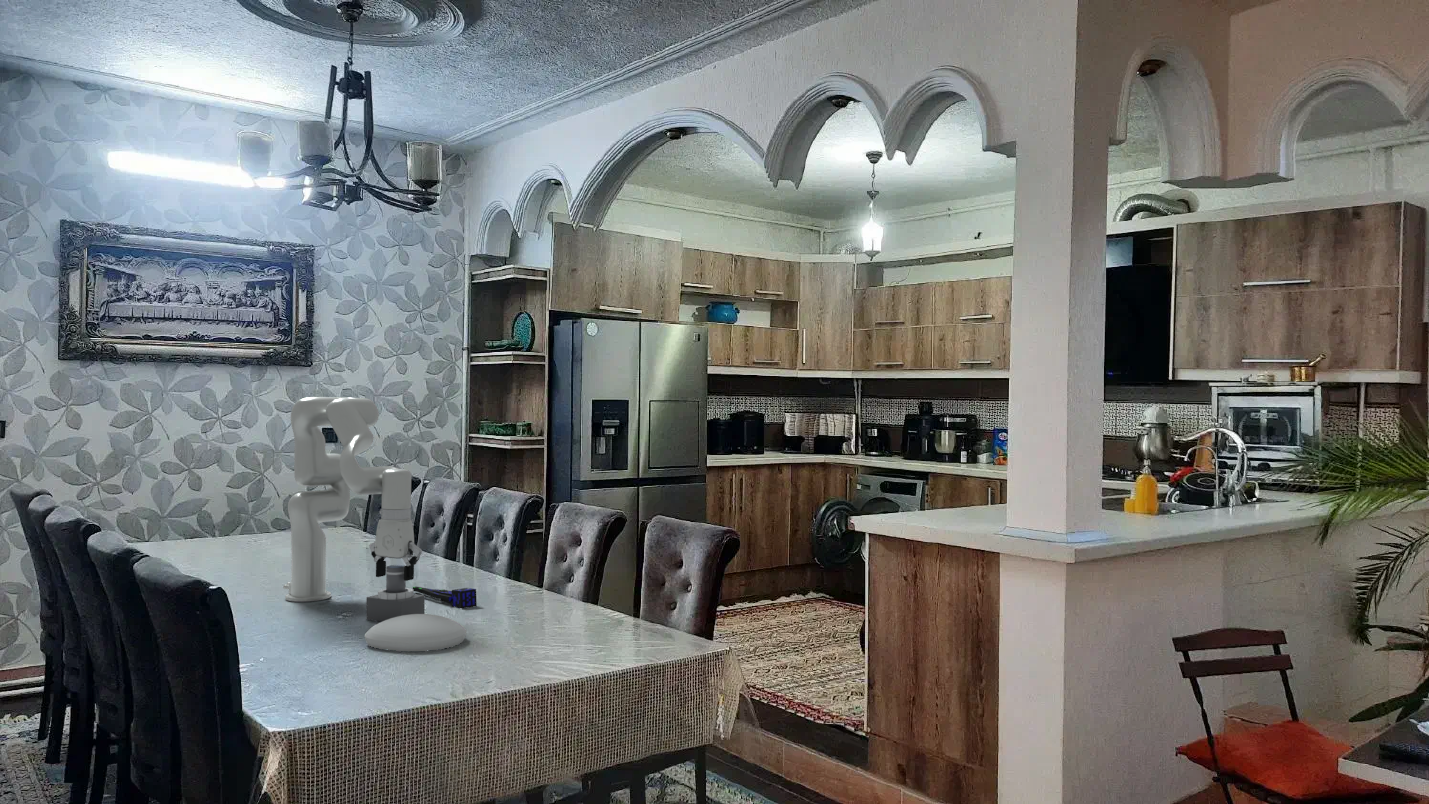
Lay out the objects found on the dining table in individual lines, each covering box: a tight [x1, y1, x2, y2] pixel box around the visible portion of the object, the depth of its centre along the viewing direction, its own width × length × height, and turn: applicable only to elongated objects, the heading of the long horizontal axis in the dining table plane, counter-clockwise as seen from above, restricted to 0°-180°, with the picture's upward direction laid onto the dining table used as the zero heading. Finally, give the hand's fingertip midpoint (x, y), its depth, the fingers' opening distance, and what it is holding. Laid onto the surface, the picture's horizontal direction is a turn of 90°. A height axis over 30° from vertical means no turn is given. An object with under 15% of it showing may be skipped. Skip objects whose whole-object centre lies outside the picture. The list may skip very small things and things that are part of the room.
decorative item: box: [364, 613, 467, 652], centre depth 247 cm, size 24×7×20 cm
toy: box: [412, 586, 478, 609], centre depth 300 cm, size 8×5×30 cm
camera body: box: [365, 587, 426, 622], centre depth 273 cm, size 12×9×8 cm
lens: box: [385, 564, 407, 593], centre depth 273 cm, size 5×5×8 cm
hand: (394, 578), depth 274 cm, fingers open, 9 cm apart
